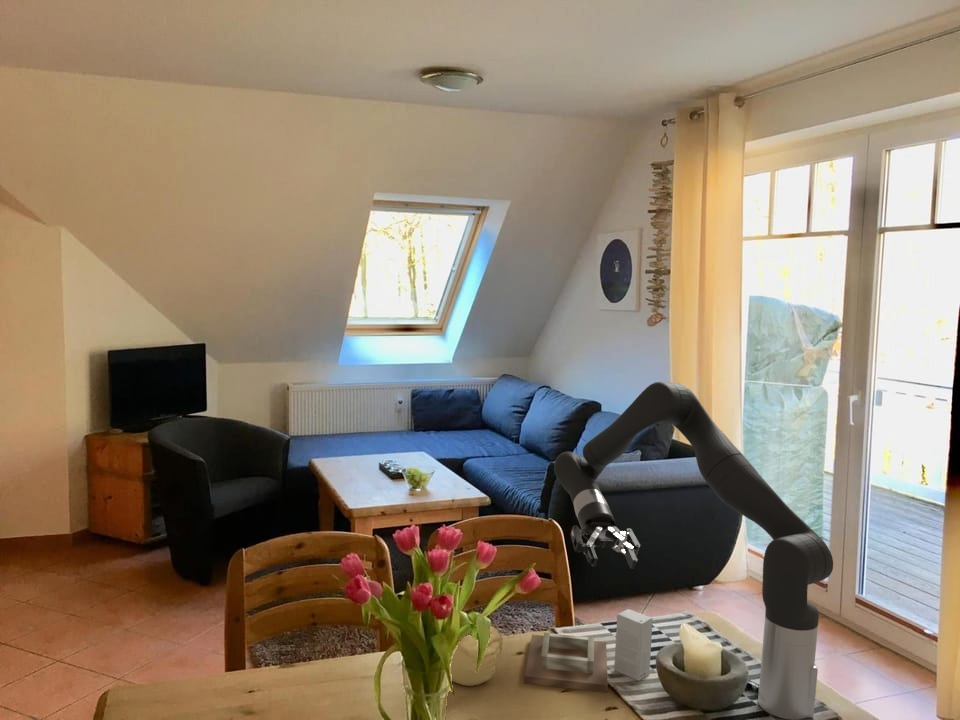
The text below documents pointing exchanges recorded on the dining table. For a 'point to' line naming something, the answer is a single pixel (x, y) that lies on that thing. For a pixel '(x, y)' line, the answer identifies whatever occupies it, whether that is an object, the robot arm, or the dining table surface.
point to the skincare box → (633, 644)
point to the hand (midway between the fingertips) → (614, 564)
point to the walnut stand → (567, 662)
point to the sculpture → (475, 660)
